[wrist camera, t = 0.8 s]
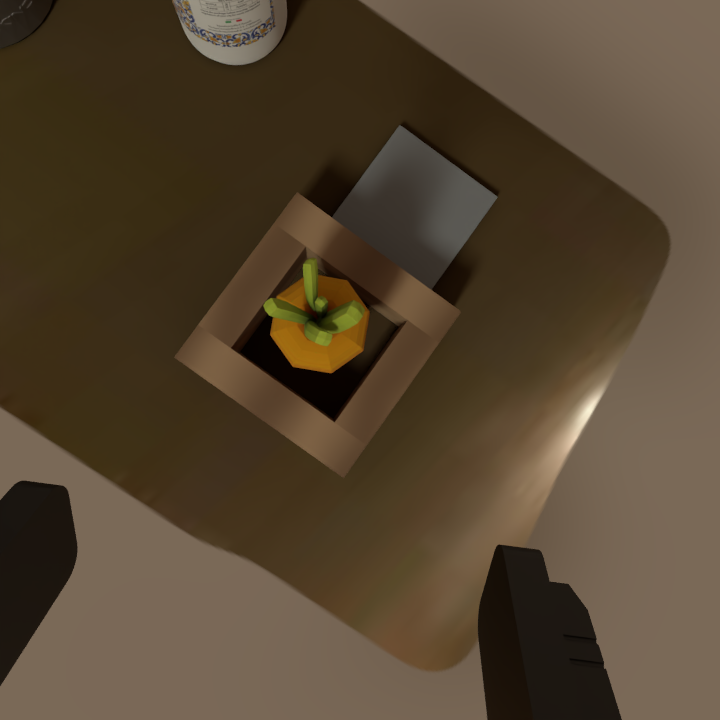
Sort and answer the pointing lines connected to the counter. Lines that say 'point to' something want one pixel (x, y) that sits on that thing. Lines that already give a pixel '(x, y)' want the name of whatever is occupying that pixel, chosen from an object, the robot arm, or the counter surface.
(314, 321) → the carrot
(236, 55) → the bath foam
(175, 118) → the counter surface
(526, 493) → the counter surface
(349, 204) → the plate
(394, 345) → the holder
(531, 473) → the counter surface
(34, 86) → the counter surface
